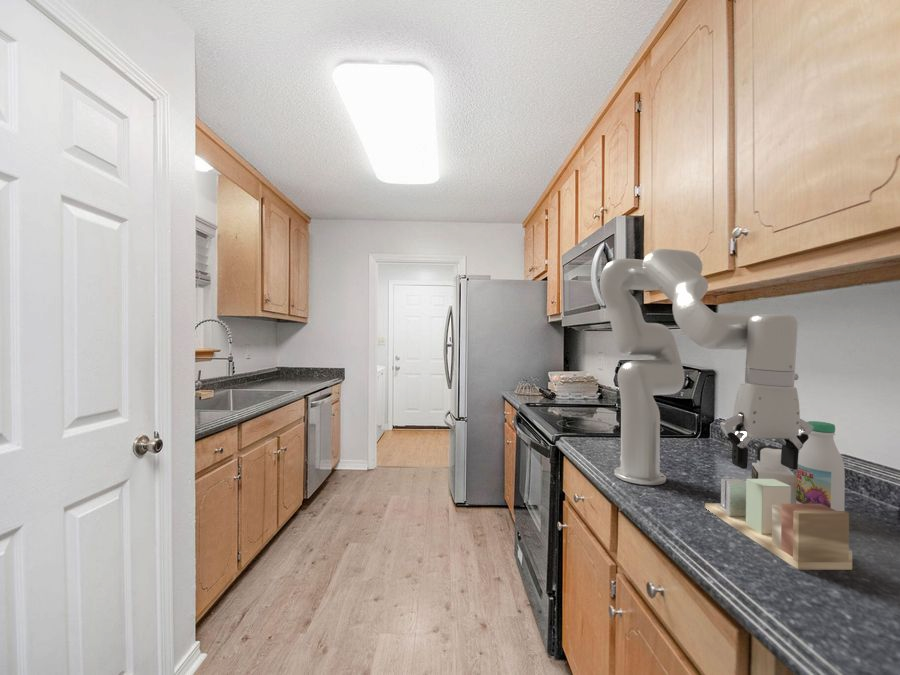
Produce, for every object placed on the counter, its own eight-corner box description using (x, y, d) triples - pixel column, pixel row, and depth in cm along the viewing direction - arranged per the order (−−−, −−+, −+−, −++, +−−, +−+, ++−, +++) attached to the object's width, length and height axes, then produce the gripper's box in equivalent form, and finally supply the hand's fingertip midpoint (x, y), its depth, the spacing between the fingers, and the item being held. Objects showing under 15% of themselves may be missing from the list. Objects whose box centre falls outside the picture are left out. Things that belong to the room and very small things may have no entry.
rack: (704, 508, 92) (705, 467, 92) (745, 508, 92) (745, 467, 92) (798, 569, 68) (798, 513, 68) (852, 569, 68) (852, 513, 68)
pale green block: (745, 524, 81) (746, 478, 81) (773, 524, 81) (773, 478, 81) (761, 534, 77) (762, 486, 77) (790, 534, 77) (791, 486, 77)
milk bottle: (820, 509, 92) (821, 419, 92) (855, 525, 84) (856, 426, 84) (786, 509, 92) (787, 419, 92) (818, 525, 84) (819, 426, 84)
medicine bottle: (751, 490, 103) (751, 442, 103) (787, 496, 99) (788, 446, 99) (756, 500, 96) (757, 449, 96) (795, 506, 93) (796, 453, 93)
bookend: (713, 506, 90) (713, 474, 90) (746, 506, 90) (746, 474, 90) (729, 516, 85) (730, 482, 85) (764, 516, 85) (764, 482, 85)
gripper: (796, 377, 83) (791, 461, 84) (711, 375, 83) (707, 459, 84) (831, 382, 76) (826, 474, 76) (738, 380, 75) (733, 473, 76)
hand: (764, 466), depth 80 cm, fingers open, 9 cm apart
